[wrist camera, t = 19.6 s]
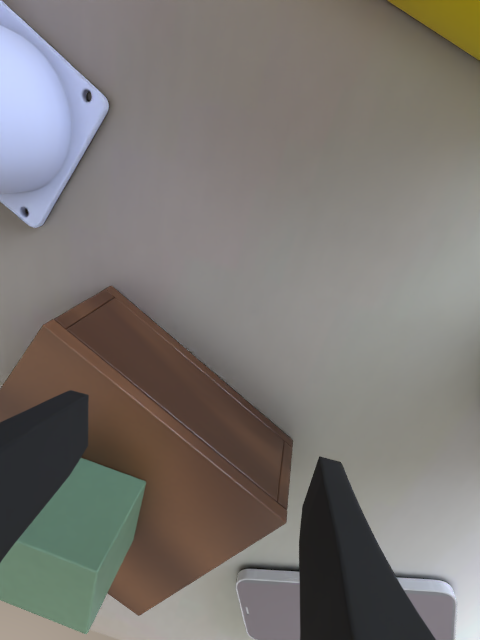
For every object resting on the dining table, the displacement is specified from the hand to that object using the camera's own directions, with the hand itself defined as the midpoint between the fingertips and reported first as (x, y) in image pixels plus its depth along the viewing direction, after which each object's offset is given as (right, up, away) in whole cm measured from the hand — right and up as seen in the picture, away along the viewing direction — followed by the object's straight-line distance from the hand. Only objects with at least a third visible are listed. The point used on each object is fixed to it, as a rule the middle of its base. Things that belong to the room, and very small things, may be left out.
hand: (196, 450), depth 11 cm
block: (-6, -5, +8) cm, 12 cm away
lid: (-6, -5, +9) cm, 12 cm away
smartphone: (+9, -17, +17) cm, 26 cm away
